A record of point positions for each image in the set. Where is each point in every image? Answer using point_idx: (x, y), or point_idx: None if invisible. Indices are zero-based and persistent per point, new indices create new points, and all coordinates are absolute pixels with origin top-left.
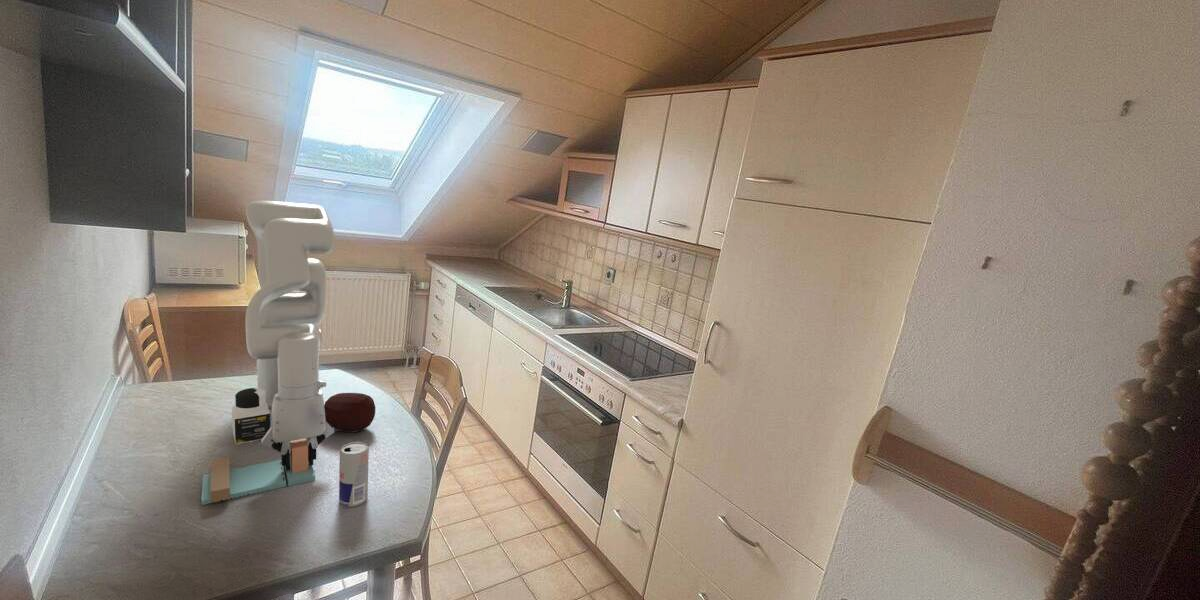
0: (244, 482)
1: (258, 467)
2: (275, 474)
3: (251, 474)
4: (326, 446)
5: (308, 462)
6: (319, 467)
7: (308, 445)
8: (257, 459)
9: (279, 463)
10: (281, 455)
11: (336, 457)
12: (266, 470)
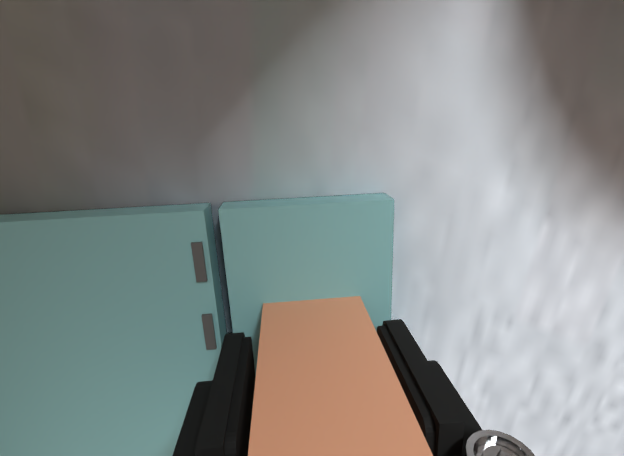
0: (3, 424)
1: (49, 271)
2: (176, 393)
3: (22, 346)
4: (530, 40)
5: (374, 315)
6: (422, 328)
7: (429, 444)
8: (21, 54)
9: (190, 261)
10: (180, 437)
11: (538, 243)
12: (113, 329)
